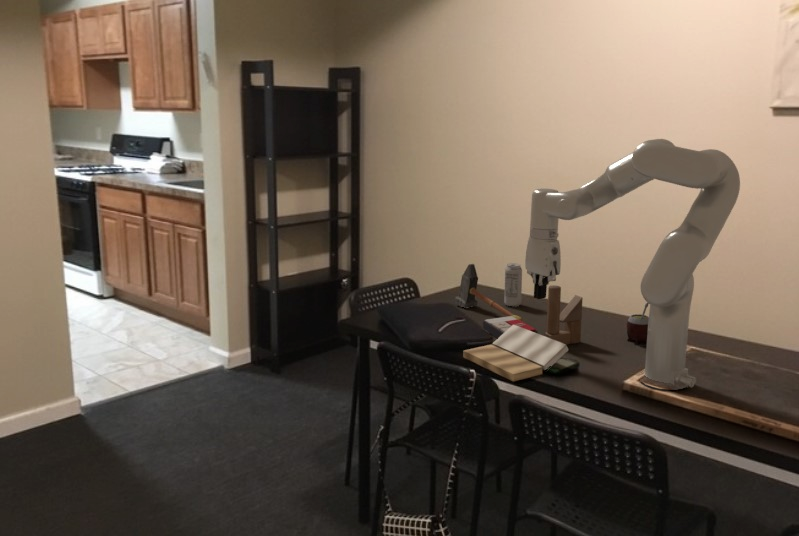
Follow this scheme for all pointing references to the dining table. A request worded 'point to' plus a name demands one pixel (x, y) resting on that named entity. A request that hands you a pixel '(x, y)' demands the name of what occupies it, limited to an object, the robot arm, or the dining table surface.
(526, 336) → the ash plank
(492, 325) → the calculator
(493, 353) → the oak board
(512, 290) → the energy drink can
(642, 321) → the mate gourd
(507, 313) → the hammer
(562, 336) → the wooden block
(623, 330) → the dining table surface
